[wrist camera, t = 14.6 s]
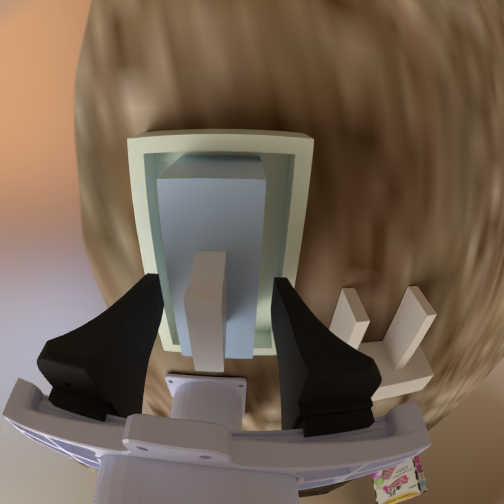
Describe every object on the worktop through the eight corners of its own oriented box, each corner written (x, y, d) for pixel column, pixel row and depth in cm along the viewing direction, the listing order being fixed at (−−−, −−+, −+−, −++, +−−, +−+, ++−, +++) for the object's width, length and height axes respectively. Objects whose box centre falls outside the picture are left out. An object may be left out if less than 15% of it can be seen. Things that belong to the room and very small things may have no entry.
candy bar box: (405, 433, 42) (422, 493, 28) (413, 433, 44) (429, 489, 29) (365, 453, 46) (376, 509, 32) (375, 452, 48) (387, 506, 34)
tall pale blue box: (251, 306, 19) (254, 404, 12) (192, 304, 18) (174, 399, 12) (260, 155, 13) (274, 212, 7) (182, 154, 13) (125, 210, 7)
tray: (278, 330, 21) (281, 354, 19) (170, 326, 21) (164, 350, 19) (303, 133, 14) (314, 139, 11) (144, 131, 13) (127, 138, 11)
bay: (404, 352, 24) (421, 389, 20) (285, 364, 24) (291, 410, 19) (441, 284, 19) (470, 323, 15) (302, 288, 19) (315, 342, 15)
